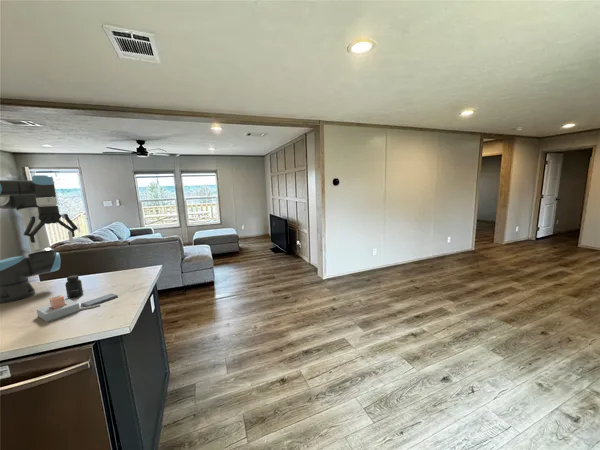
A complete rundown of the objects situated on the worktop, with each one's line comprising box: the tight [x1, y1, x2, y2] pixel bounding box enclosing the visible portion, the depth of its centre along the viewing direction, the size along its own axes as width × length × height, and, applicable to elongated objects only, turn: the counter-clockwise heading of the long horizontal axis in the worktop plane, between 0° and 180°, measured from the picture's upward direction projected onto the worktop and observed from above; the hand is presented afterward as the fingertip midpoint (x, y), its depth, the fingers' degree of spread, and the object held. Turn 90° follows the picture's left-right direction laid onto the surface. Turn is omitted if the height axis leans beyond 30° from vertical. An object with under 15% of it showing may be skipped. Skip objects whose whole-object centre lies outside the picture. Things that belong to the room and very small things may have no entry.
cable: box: [80, 303, 102, 311], centre depth 125 cm, size 8×1×1 cm, turn 121°
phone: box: [80, 293, 119, 308], centre depth 132 cm, size 7×14×1 cm, turn 151°
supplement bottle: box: [64, 274, 84, 300], centre depth 140 cm, size 7×7×12 cm
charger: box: [49, 295, 65, 310], centre depth 119 cm, size 4×4×9 cm
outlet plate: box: [36, 298, 81, 323], centre depth 119 cm, size 12×12×4 cm
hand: (55, 245), depth 128 cm, fingers open, 13 cm apart
